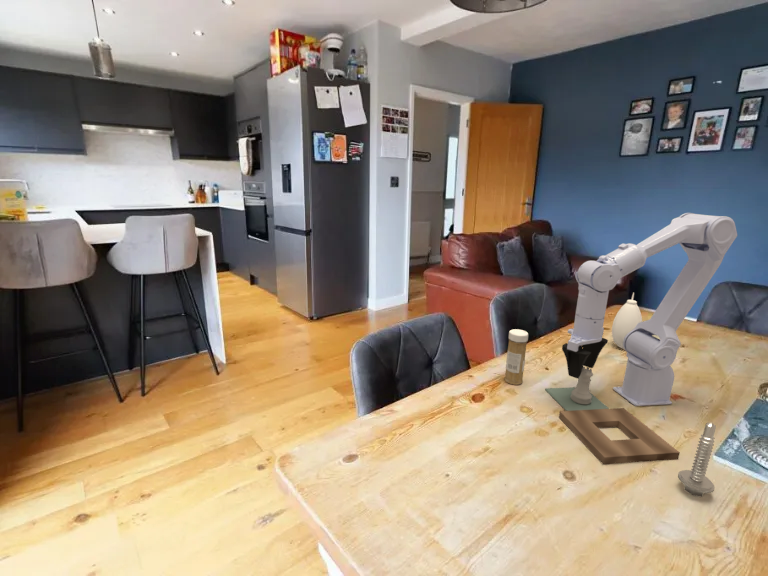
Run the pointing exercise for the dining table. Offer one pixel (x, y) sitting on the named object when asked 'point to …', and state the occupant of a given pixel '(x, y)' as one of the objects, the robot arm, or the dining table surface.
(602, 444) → the socket board
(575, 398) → the rook chess piece
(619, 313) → the rubber bulb air blower
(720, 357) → the dining table surface
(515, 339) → the sprinkles bottle
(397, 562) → the dining table surface
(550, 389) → the rubber mat
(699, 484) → the screw
